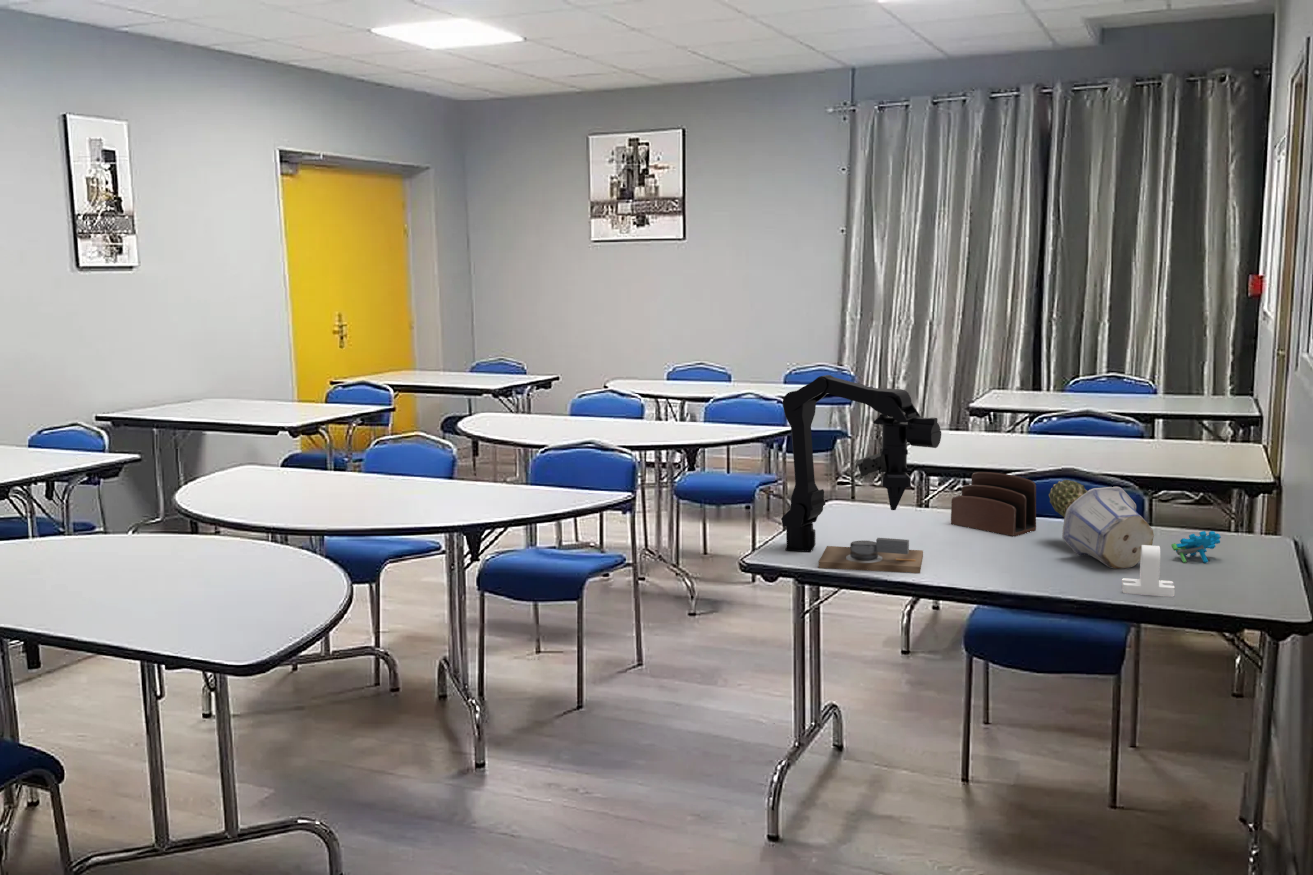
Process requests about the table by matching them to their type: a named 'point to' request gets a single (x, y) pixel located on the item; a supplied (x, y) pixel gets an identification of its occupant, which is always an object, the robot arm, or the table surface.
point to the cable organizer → (1149, 576)
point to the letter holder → (996, 504)
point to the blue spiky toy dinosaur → (1197, 545)
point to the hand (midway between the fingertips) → (893, 509)
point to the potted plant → (1101, 523)
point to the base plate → (871, 561)
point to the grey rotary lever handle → (878, 548)
